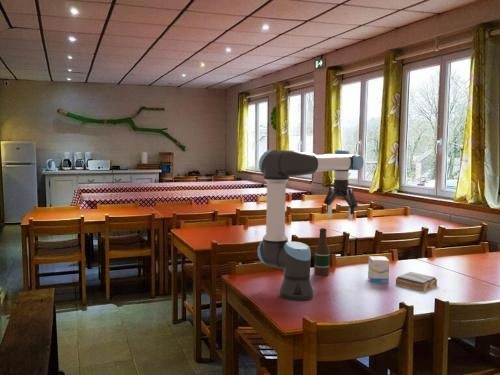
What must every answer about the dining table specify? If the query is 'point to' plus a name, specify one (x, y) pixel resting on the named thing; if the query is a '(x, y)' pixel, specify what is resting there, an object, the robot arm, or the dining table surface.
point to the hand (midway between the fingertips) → (339, 218)
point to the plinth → (416, 281)
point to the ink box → (378, 269)
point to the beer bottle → (322, 255)
